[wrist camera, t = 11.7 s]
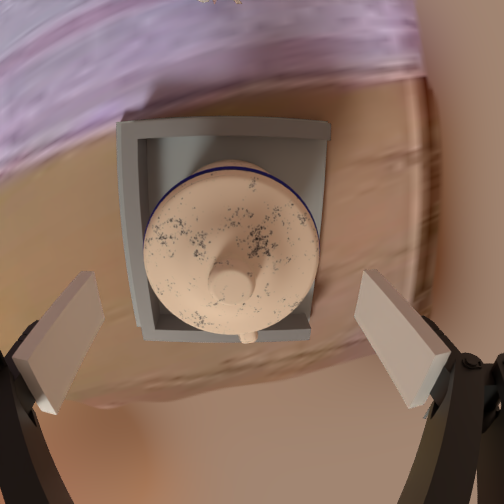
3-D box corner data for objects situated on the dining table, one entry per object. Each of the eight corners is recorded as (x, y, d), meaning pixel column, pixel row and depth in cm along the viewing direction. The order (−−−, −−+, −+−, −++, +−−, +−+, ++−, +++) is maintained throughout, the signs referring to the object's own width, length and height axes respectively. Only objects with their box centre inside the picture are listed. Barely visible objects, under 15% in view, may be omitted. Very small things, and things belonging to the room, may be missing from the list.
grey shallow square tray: (120, 122, 21) (104, 121, 18) (324, 121, 22) (338, 120, 19) (139, 321, 27) (130, 341, 24) (306, 321, 28) (314, 342, 25)
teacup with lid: (161, 168, 21) (98, 200, 11) (282, 147, 21) (333, 159, 11) (193, 307, 26) (176, 411, 15) (297, 290, 26) (337, 388, 15)
